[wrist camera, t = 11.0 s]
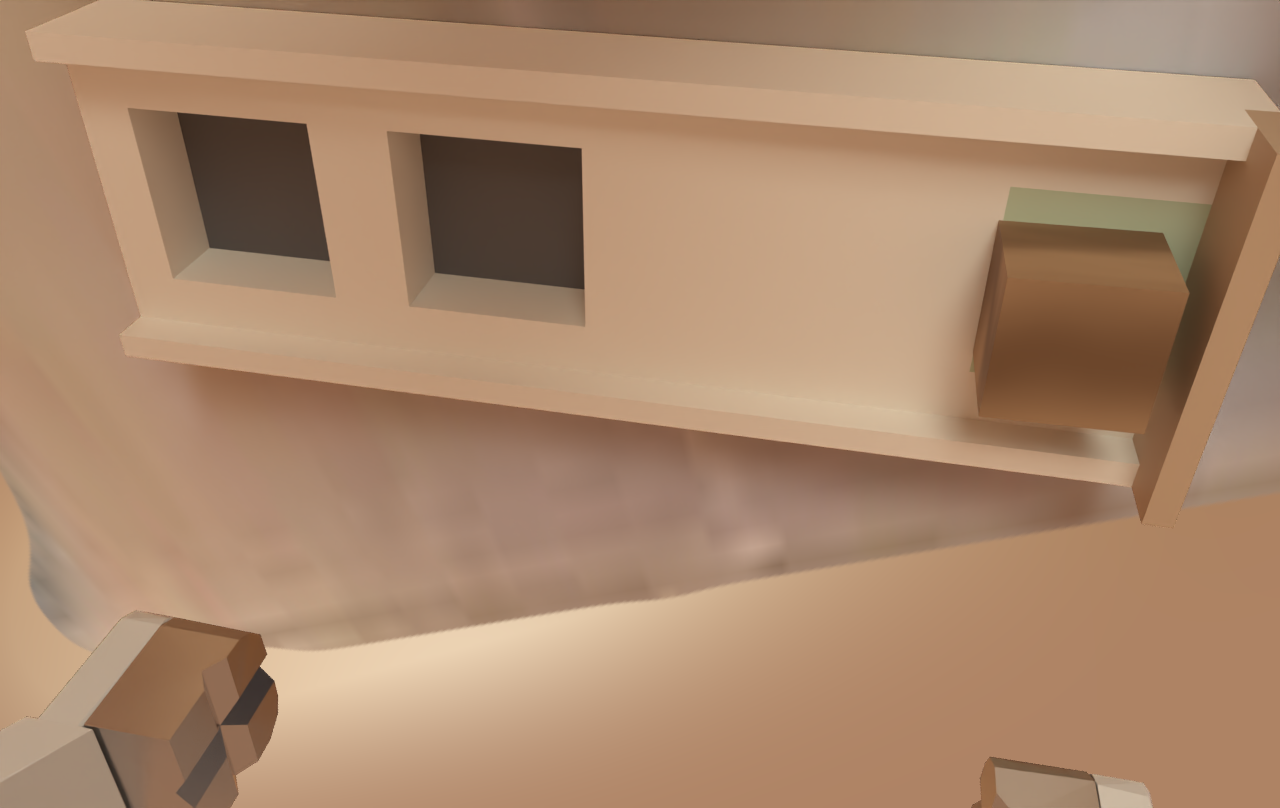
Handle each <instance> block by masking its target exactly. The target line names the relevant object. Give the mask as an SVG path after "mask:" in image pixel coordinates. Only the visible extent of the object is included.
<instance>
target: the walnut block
mask: <svg viewBox="0 0 1280 808" xmlns="http://www.w3.org/2000/svg"><path fill="white" fill-rule="evenodd" d="M1188 296H1189V291H1188V289H1187V286H1186V284H1185V282H1184V279H1183V277H1182V275H1181V273H1180V270H1179V268H1178V266H1177V263H1176V261H1175V259H1174V257H1173V254H1172V252H1171V250H1170V247H1169V245H1168V243H1167V241H1166V238H1165V236H1164V234H1163V233H1159V232H1146V231H1133V230H1120V229H1107V228H1094V227H1081V226H1068V225H1055V224H1042V223H1029V222H1016V221H1003V220H999V221H998V227H997V232H996V237H995V242H994V247H993V252H992V257H991V262H990V267H989V272H988V277H987V282H986V287H985V292H984V297H983V302H982V308H981V313H980V318H979V323H978V328H977V333H976V338H975V343H974V348H973V360H974V371H975V382H976V394H977V405H978V416H979V417H987V418H996V419H1005V420H1014V421H1024V422H1033V423H1042V424H1052V425H1061V426H1070V427H1080V428H1089V429H1098V430H1108V431H1117V432H1126V433H1135V434H1145V430H1146V427H1147V424H1148V421H1149V418H1150V415H1151V412H1152V409H1153V405H1154V402H1155V399H1156V396H1157V393H1158V390H1159V387H1160V384H1161V380H1162V377H1163V374H1164V371H1165V368H1166V365H1167V362H1168V359H1169V356H1170V352H1171V349H1172V346H1173V343H1174V340H1175V337H1176V334H1177V331H1178V327H1179V324H1180V321H1181V318H1182V315H1183V312H1184V309H1185V306H1186V302H1187V299H1188Z"/></svg>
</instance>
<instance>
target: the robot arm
mask: <svg viewBox="0 0 1280 808" xmlns="http://www.w3.org/2000/svg"><path fill="white" fill-rule="evenodd" d="M266 655H267V653H266V650H265V647H264V644H263V641H262V638H261V635H260V634H255V633H251V632H246V631H241V630H236V629H231V628H226V627H221V626H216V625H211V624H206V623H201V622H196V621H191V620H186V619H181V618H176V617H170V616H165V615H159V614H154V613H148V612H143V611H137V610H135V611H133V612H132V613H130V614H128V615H126V616H125V617H123V618H121V619H120V620H119V621H118V623H117V624H116V625H115V626H114V627H113V629H112V630H111V631H110V632H109V633H108V635H107V636H106V637H105V638H104V639H103V641H102V642H101V643H100V644H99V646H98V647H97V648H96V649H95V650H94V652H93V653H92V654H91V655H90V656H89V658H88V659H87V660H86V661H85V663H84V664H83V665H82V666H81V667H80V668H79V670H78V671H77V672H76V673H75V674H74V676H73V677H72V678H71V679H70V680H69V682H68V683H67V684H66V685H65V687H64V688H63V689H62V690H61V691H60V692H59V694H58V695H57V696H56V697H55V698H54V700H53V701H52V702H51V703H50V704H49V706H48V707H47V708H46V709H45V711H44V712H43V713H42V714H41V715H40V716H39V718H34V717H28V716H26V717H24V718H23V719H21V720H19V721H17V722H15V723H13V724H11V725H9V726H7V727H6V728H3V729H2V730H0V808H230V807H231V806H232V804H233V802H234V801H235V799H236V797H237V796H238V788H237V782H236V775H237V774H238V773H240V772H241V771H243V770H245V769H246V768H248V767H249V766H251V765H252V764H254V763H256V762H257V761H258V760H259V758H260V757H261V755H262V753H263V751H264V750H265V748H266V746H267V744H268V743H269V741H270V739H271V735H272V732H273V728H274V725H275V721H276V718H277V715H278V694H277V690H276V686H275V682H274V680H273V679H272V678H271V677H270V676H269V675H268V674H267V673H266V672H265V671H264V670H263V669H261V667H260V665H261V663H262V662H263V660H264V659H265V657H266ZM980 786H981V800H980V801H978V802H977V803H975V804H973V805H972V807H971V808H1153V805H1152V800H1151V796H1150V792H1149V791H1148V789H1147V788H1146V786H1145V785H1144V784H1143V783H1142V782H1137V781H1131V780H1125V779H1119V778H1113V777H1107V776H1101V775H1095V774H1088V773H1087V772H1084V771H1078V770H1071V769H1064V768H1059V767H1052V766H1046V765H1039V764H1033V763H1027V762H1020V761H1013V760H1007V759H1001V758H995V757H989V759H988V760H987V761H986V762H985V765H984V768H983V771H982V774H981V777H980Z"/></svg>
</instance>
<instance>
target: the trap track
mask: <svg viewBox="0 0 1280 808" xmlns="http://www.w3.org/2000/svg"><path fill="white" fill-rule="evenodd" d="M25 33H26V37H27V40H28V43H29V46H30V50H31V53H32V56H33V59H34V61H40V62H53V63H65V64H67V68H68V71H69V75H70V78H71V81H72V85H73V88H74V92H75V95H76V98H77V102H78V105H79V109H80V112H81V116H82V119H83V122H84V126H85V129H86V133H87V136H88V139H89V143H90V146H91V150H92V153H93V156H94V160H95V163H96V167H97V170H98V173H99V177H100V180H101V184H102V187H103V190H104V194H105V197H106V201H107V204H108V207H109V211H110V214H111V218H112V221H113V225H114V228H115V231H116V235H117V238H118V242H119V245H120V248H121V252H122V255H123V259H124V262H125V265H126V269H127V272H128V276H129V279H130V282H131V286H132V289H133V293H134V296H135V299H136V303H137V306H138V310H139V313H140V316H141V317H139V318H138V319H137V320H136V321H135V322H134V323H132V324H131V325H130V326H129V327H128V328H127V329H125V330H124V331H123V332H122V333H121V334H120V335H119V336H120V340H121V343H122V346H123V349H124V352H125V356H130V357H138V358H145V359H153V360H161V361H168V362H176V363H184V364H191V365H199V366H207V367H214V368H222V369H230V370H237V371H245V372H253V373H261V374H268V375H276V376H284V377H291V378H299V379H307V380H314V381H322V382H330V383H337V384H345V385H353V386H360V387H368V388H376V389H383V390H391V391H399V392H406V393H414V394H422V395H429V396H437V397H445V398H452V399H460V400H468V401H475V402H483V403H491V404H498V405H506V406H514V407H521V408H529V409H537V410H544V411H552V412H560V413H567V414H575V415H583V416H590V417H598V418H606V419H614V420H621V421H629V422H637V423H644V424H652V425H660V426H667V427H675V428H683V429H690V430H698V431H706V432H713V433H721V434H729V435H736V436H744V437H752V438H759V439H767V440H775V441H782V442H790V443H798V444H805V445H813V446H821V447H828V448H836V449H844V450H851V451H859V452H867V453H874V454H882V455H890V456H897V457H905V458H913V459H920V460H928V461H936V462H943V463H951V464H959V465H967V466H974V467H982V468H990V469H997V470H1005V471H1013V472H1020V473H1028V474H1036V475H1043V476H1051V477H1059V478H1066V479H1074V480H1082V481H1089V482H1097V483H1105V484H1112V485H1120V486H1128V487H1132V490H1133V494H1134V498H1135V501H1136V505H1137V509H1138V513H1139V516H1140V520H1141V523H1142V524H1145V525H1152V526H1160V527H1167V528H1173V527H1174V525H1175V522H1176V520H1177V517H1178V515H1179V512H1180V510H1181V507H1182V504H1183V502H1184V499H1185V497H1186V494H1187V492H1188V489H1189V486H1190V484H1191V481H1192V479H1193V476H1194V474H1195V471H1196V469H1197V466H1198V463H1199V461H1200V458H1201V456H1202V453H1203V451H1204V448H1205V445H1206V443H1207V440H1208V438H1209V435H1210V433H1211V430H1212V428H1213V425H1214V422H1215V420H1216V417H1217V415H1218V412H1219V410H1220V407H1221V404H1222V402H1223V399H1224V397H1225V394H1226V392H1227V389H1228V387H1229V384H1230V381H1231V379H1232V376H1233V374H1234V371H1235V369H1236V366H1237V363H1238V361H1239V358H1240V356H1241V353H1242V351H1243V348H1244V345H1245V343H1246V340H1247V338H1248V335H1249V333H1250V330H1251V328H1252V325H1253V322H1254V320H1255V317H1256V315H1257V312H1258V310H1259V307H1260V304H1261V302H1262V299H1263V297H1264V294H1265V292H1266V289H1267V287H1268V284H1269V281H1270V279H1271V276H1272V274H1273V271H1274V269H1275V266H1276V263H1277V261H1278V258H1279V256H1280V110H1279V109H1278V108H1277V106H1276V105H1275V104H1274V103H1273V102H1272V100H1271V99H1270V98H1269V97H1268V95H1267V94H1266V93H1265V92H1264V90H1263V89H1262V88H1261V87H1260V86H1259V84H1258V83H1257V82H1256V81H1255V80H1252V79H1238V78H1224V77H1210V76H1196V75H1182V74H1168V73H1154V72H1140V71H1126V70H1112V69H1098V68H1084V67H1070V66H1056V65H1042V64H1028V63H1014V62H1000V61H986V60H972V59H958V58H944V57H930V56H916V55H902V54H888V53H874V52H860V51H846V50H832V49H818V48H804V47H790V46H776V45H762V44H748V43H734V42H720V41H705V40H691V39H677V38H663V37H649V36H635V35H621V34H607V33H593V32H579V31H565V30H551V29H537V28H523V27H509V26H495V25H481V24H467V23H453V22H439V21H425V20H411V19H397V18H383V17H369V16H355V15H341V14H327V13H313V12H299V11H285V10H271V9H257V8H243V7H229V6H215V5H201V4H187V3H173V2H159V1H145V0H98V1H96V2H93V3H91V4H89V5H86V6H84V7H82V8H79V9H77V10H74V11H72V12H70V13H67V14H65V15H63V16H60V17H58V18H55V19H53V20H51V21H48V22H46V23H44V24H41V25H39V26H36V27H34V28H32V29H29V30H27V31H25ZM999 220H1003V221H1016V222H1029V223H1042V224H1055V225H1068V226H1081V227H1094V228H1107V229H1120V230H1133V231H1146V232H1159V233H1163V234H1164V236H1165V238H1166V241H1167V243H1168V245H1169V247H1170V250H1171V252H1172V254H1173V257H1174V259H1175V261H1176V263H1177V266H1178V268H1179V270H1180V273H1181V275H1182V277H1183V279H1184V282H1185V284H1186V286H1187V289H1188V291H1189V296H1188V299H1187V302H1186V306H1185V309H1184V312H1183V315H1182V318H1181V321H1180V324H1179V327H1178V331H1177V334H1176V337H1175V340H1174V343H1173V346H1172V349H1171V352H1170V356H1169V359H1168V362H1167V365H1166V368H1165V371H1164V374H1163V377H1162V380H1161V384H1160V387H1159V390H1158V393H1157V396H1156V399H1155V402H1154V405H1153V409H1152V412H1151V415H1150V418H1149V421H1148V424H1147V427H1146V430H1145V434H1135V433H1126V432H1117V431H1108V430H1098V429H1089V428H1080V427H1070V426H1061V425H1052V424H1042V423H1033V422H1024V421H1014V420H1005V419H996V418H987V417H979V416H978V405H977V394H976V382H975V371H974V360H973V348H974V343H975V338H976V333H977V328H978V323H979V318H980V313H981V308H982V302H983V297H984V292H985V287H986V282H987V277H988V272H989V267H990V262H991V257H992V252H993V247H994V242H995V237H996V232H997V227H998V221H999Z"/></svg>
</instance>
